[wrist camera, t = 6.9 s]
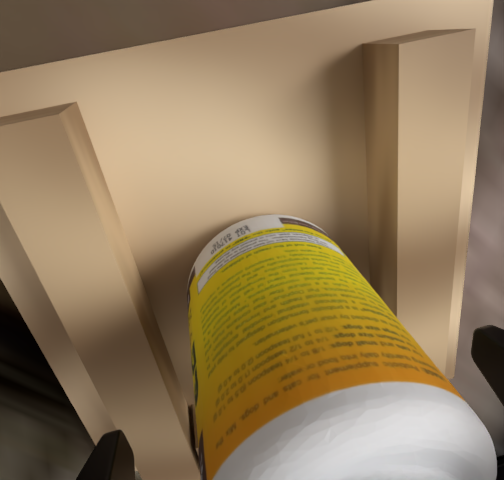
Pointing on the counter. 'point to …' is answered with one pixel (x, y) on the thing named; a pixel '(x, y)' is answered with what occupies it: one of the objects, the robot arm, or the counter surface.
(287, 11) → the counter surface
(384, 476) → the supplement bottle
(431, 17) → the stand
